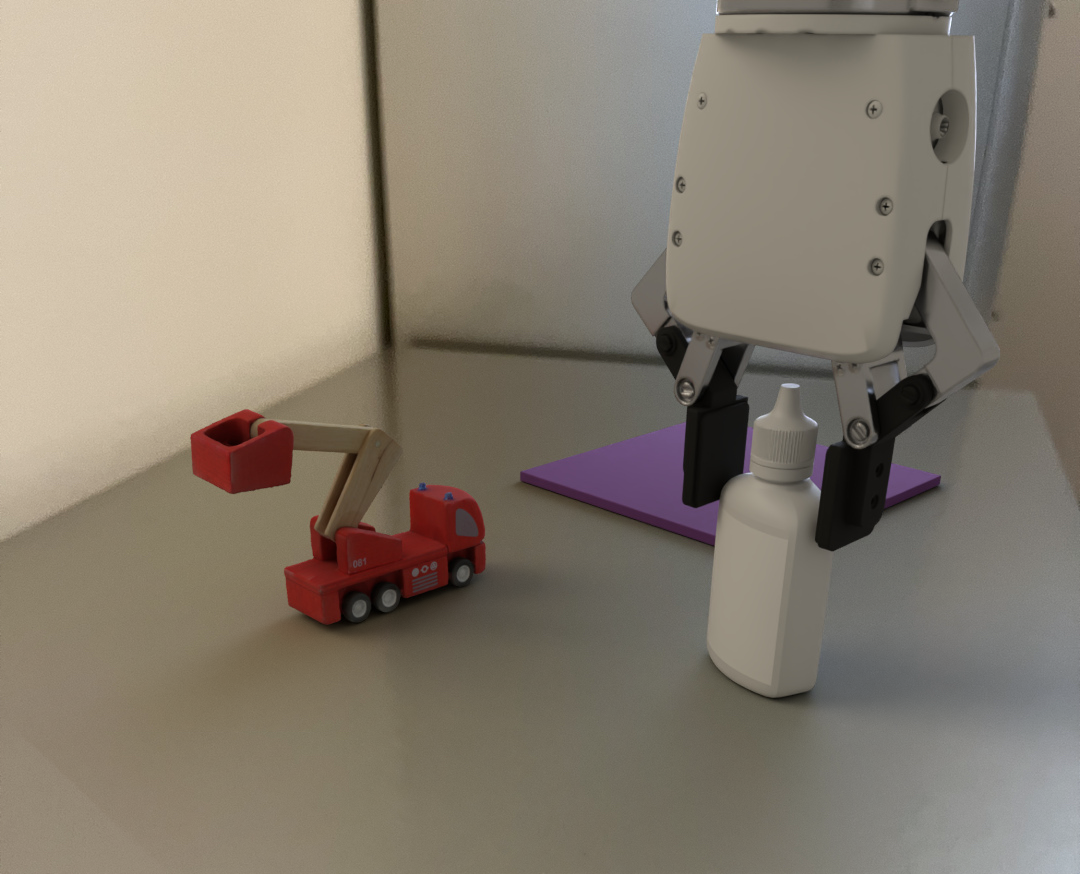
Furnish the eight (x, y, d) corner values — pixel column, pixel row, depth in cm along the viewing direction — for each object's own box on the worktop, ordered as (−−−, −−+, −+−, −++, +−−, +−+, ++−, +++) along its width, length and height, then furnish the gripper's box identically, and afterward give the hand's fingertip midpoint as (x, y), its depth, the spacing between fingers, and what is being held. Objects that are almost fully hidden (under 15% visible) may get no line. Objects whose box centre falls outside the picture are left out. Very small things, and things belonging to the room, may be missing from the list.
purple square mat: (705, 423, 83) (706, 415, 83) (940, 484, 72) (941, 475, 72) (519, 480, 72) (519, 471, 72) (763, 563, 61) (764, 552, 61)
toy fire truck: (495, 577, 59) (493, 380, 54) (253, 660, 51) (225, 438, 46) (452, 558, 61) (447, 367, 56) (214, 635, 53) (183, 420, 48)
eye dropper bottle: (708, 699, 48) (735, 403, 42) (704, 639, 53) (728, 366, 47) (817, 704, 48) (860, 407, 42) (803, 644, 53) (840, 369, 47)
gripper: (1154, -18, 35) (1025, 554, 44) (698, -8, 46) (669, 452, 55) (1040, -28, 31) (922, 612, 40) (562, -15, 41) (554, 489, 50)
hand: (775, 515), depth 47 cm, fingers closed on eye dropper bottle, 5 cm apart
